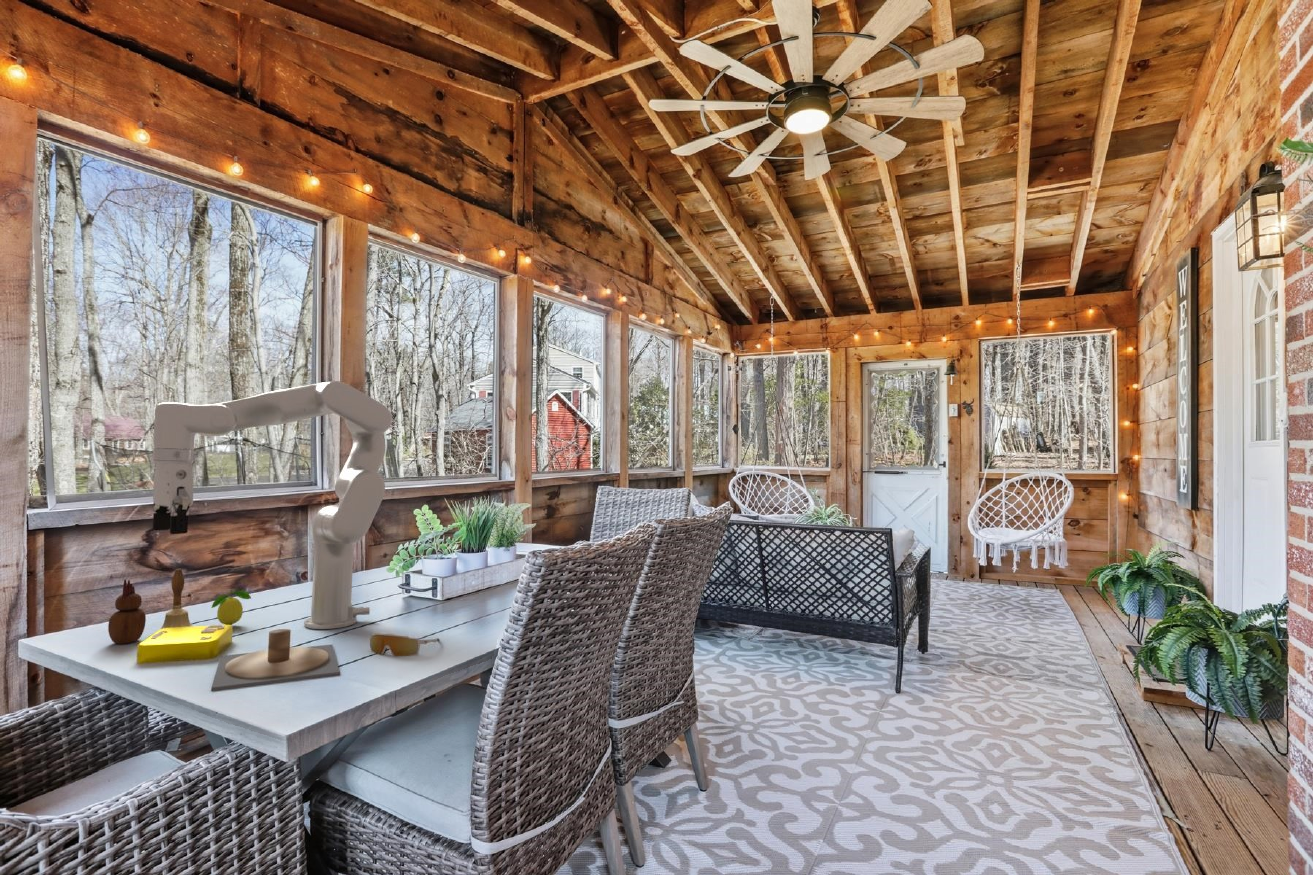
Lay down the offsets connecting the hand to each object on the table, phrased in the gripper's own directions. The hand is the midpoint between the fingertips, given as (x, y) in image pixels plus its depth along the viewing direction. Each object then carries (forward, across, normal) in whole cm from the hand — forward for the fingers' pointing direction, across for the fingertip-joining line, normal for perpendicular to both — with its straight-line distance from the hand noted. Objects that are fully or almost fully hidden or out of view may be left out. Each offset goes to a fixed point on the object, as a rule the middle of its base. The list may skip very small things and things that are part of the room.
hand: (169, 531), depth 149 cm
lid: (+26, -31, -10) cm, 42 cm away
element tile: (+27, -5, -3) cm, 28 cm away
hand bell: (+27, +13, -7) cm, 31 cm away
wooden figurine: (+27, +13, +3) cm, 30 cm away
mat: (+27, -31, -10) cm, 42 cm away
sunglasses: (+28, -38, -36) cm, 59 cm away
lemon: (+27, +11, -18) cm, 34 cm away
